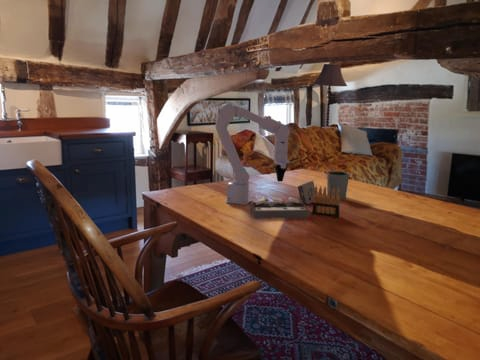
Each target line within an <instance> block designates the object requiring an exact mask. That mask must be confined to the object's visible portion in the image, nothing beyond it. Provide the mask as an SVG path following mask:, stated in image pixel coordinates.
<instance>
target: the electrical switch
mask: <svg viewBox="0 0 480 360" xmlns="http://www.w3.org/2000/svg"><path fill="white" fill-rule="evenodd" d="M315 187H316V185H315V182H314V180H309V181H307V182H304V183H302V184H299V185H298V186H297V189H298V194H299V195H298V196H299V199H301V200H302V202H303V203H304V204H305V205H309V204H313V198H314V191H315Z"/></svg>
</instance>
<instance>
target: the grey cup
mask: <svg viewBox="0 0 480 360" xmlns="http://www.w3.org/2000/svg"><path fill="white" fill-rule="evenodd" d="M326 176H327V177H326V179H327V180H326V183H327V184H326V185H327V187H326V195H327V194H328V189H329V187H330V190H331V197H332V191H333V188H335V201H336V196H337V190H338V188H339V189H340V201H342V200H343V201H344V200H346V198H347V192H348V185H349V180H350V179H349V178H350V172H345V171H342V170H330V171H327V173H326Z"/></svg>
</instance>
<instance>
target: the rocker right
mask: <svg viewBox="0 0 480 360" xmlns="http://www.w3.org/2000/svg"><path fill="white" fill-rule="evenodd" d="M288 201H289V202H295V203H300V204H302V200H301V199H300V198H297V197H293V196H288Z"/></svg>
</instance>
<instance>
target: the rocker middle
mask: <svg viewBox="0 0 480 360" xmlns="http://www.w3.org/2000/svg"><path fill="white" fill-rule="evenodd" d="M271 200H272V202H278V204H279V203H282V204H285V203H286V202H287V201H286V200H285V199H283V198H278V197H275V196H271Z"/></svg>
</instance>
